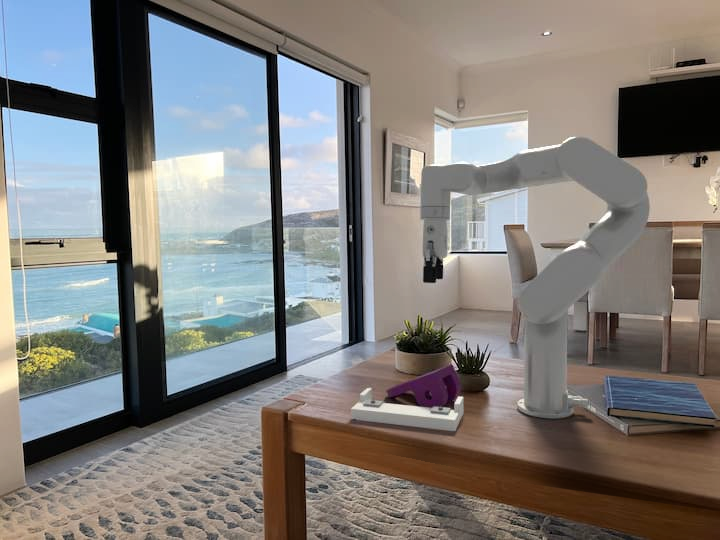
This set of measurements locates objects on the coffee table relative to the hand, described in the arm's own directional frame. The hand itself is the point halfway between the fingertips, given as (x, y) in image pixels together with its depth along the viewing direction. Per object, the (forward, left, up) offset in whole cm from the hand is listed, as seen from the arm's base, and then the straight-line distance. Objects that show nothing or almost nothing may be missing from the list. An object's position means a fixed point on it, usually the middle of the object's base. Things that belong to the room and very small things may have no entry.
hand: (433, 280), depth 132 cm
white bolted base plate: (+3, +17, -30) cm, 35 cm away
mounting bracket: (+3, +5, -31) cm, 31 cm away
